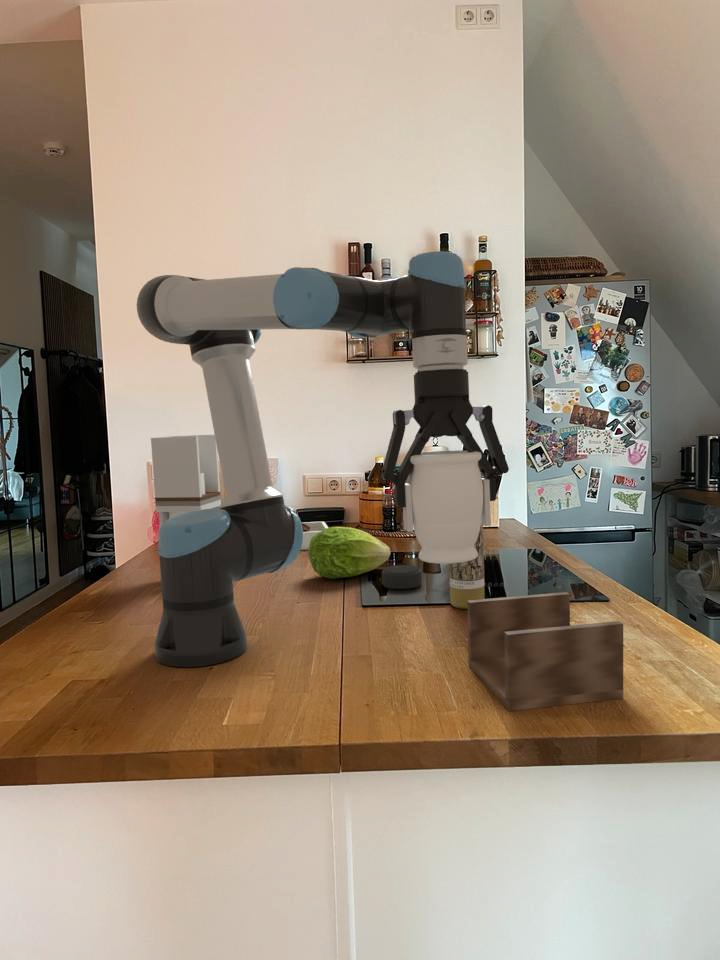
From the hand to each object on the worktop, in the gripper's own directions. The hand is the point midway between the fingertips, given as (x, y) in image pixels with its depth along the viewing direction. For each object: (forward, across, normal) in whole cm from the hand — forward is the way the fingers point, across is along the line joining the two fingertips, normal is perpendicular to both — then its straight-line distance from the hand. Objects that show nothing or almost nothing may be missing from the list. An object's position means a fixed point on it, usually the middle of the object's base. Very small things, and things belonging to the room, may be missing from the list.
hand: (447, 527), depth 97 cm
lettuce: (+22, -5, +69) cm, 73 cm away
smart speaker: (+22, +4, +55) cm, 60 cm away
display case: (+21, -43, +74) cm, 88 cm away
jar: (+5, 0, 0) cm, 5 cm away
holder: (+23, +12, -2) cm, 26 cm away
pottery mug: (+21, -17, +112) cm, 115 cm away
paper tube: (+22, +13, +37) cm, 45 cm away
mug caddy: (+21, -15, +112) cm, 115 cm away
